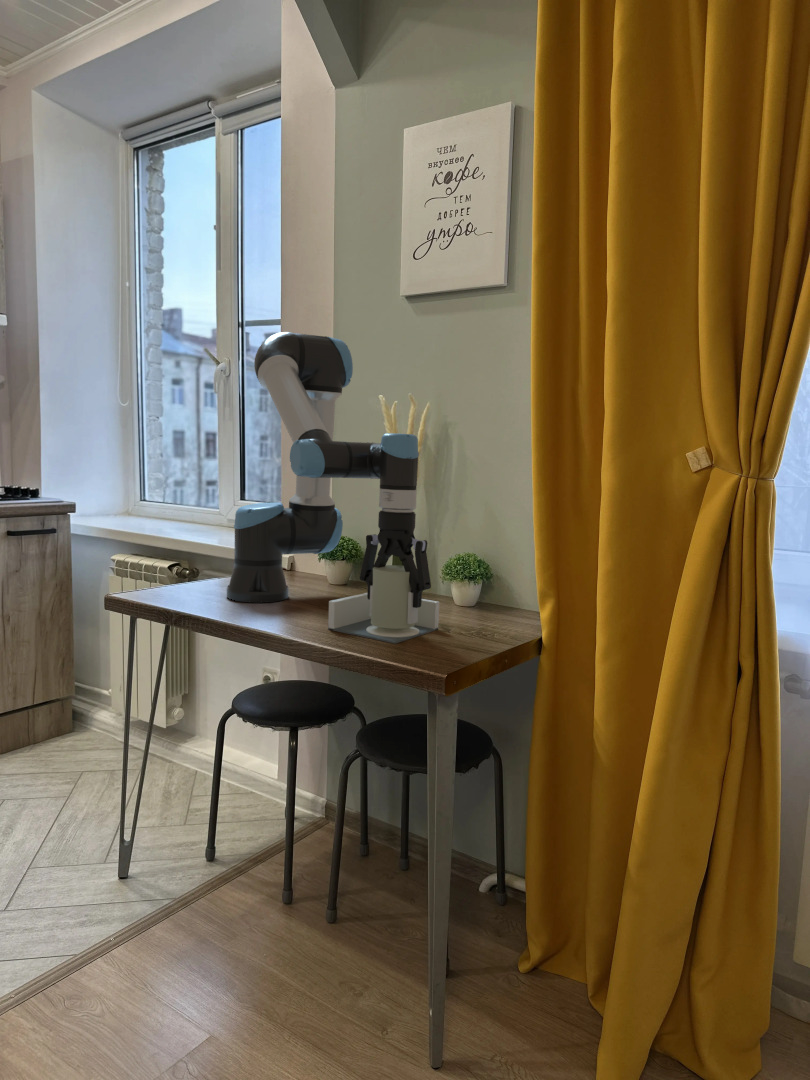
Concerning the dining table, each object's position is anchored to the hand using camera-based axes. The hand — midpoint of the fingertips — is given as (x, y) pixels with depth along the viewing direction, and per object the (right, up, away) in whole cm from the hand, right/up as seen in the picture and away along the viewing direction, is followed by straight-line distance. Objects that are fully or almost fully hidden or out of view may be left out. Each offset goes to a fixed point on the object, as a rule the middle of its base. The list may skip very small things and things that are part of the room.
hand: (393, 619), depth 153 cm
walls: (-2, -2, +3) cm, 4 cm away
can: (0, -1, 0) cm, 1 cm away
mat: (-2, -2, +3) cm, 4 cm away
